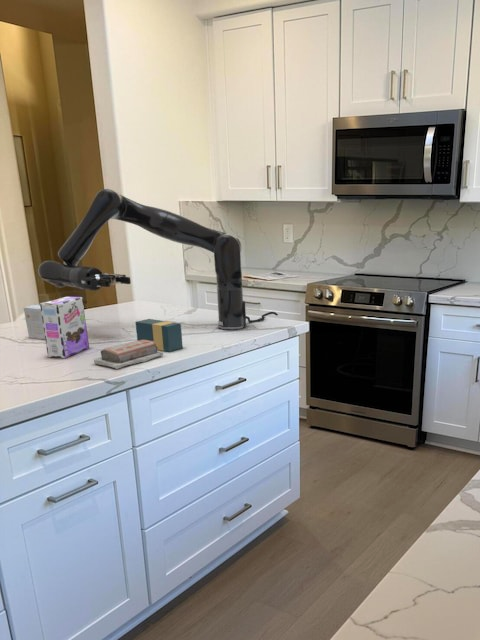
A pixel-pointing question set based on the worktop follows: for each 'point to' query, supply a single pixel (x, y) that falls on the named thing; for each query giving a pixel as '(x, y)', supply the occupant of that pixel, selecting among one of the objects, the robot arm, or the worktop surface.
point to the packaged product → (128, 354)
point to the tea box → (160, 333)
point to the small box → (34, 321)
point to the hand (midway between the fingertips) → (119, 282)
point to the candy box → (64, 326)
